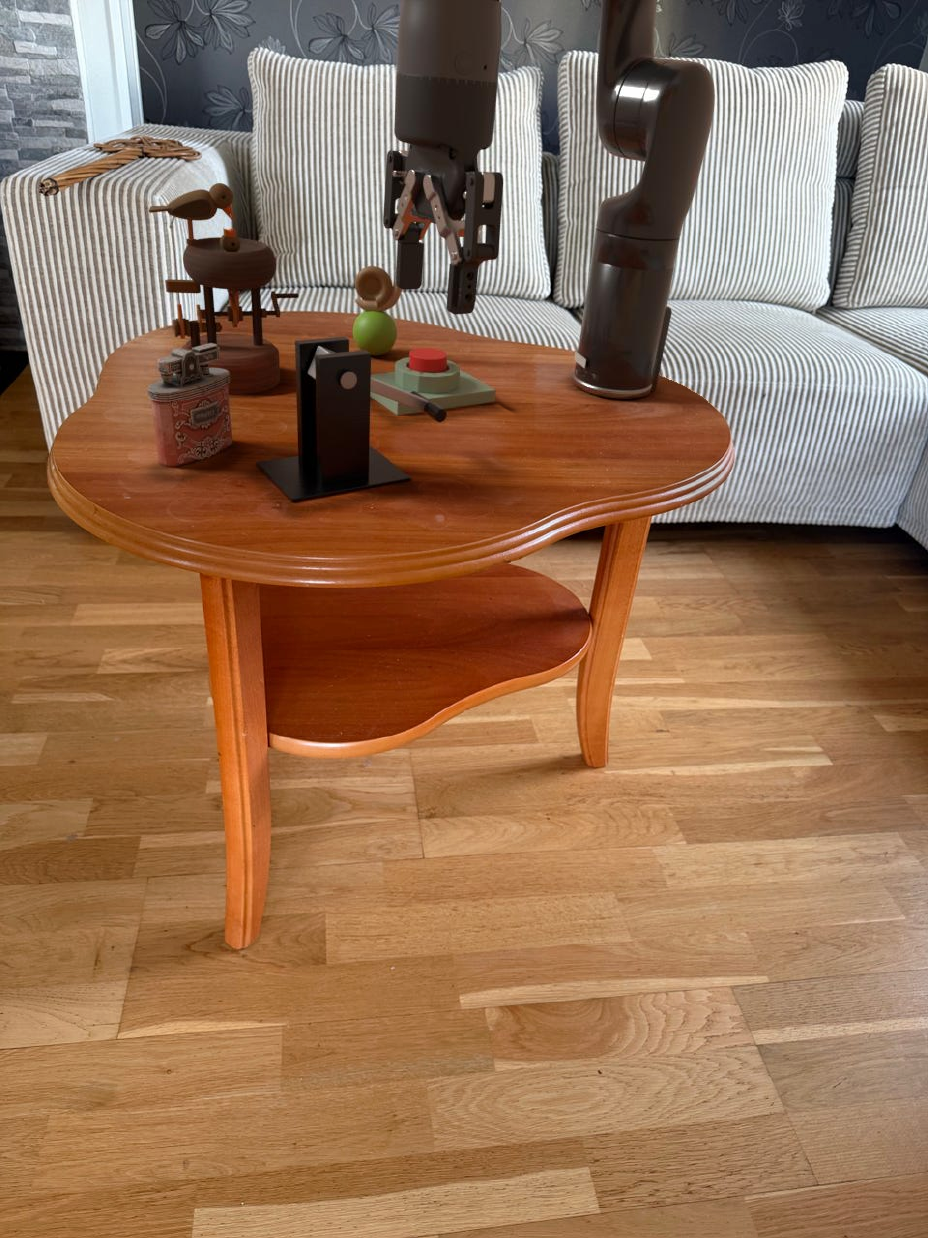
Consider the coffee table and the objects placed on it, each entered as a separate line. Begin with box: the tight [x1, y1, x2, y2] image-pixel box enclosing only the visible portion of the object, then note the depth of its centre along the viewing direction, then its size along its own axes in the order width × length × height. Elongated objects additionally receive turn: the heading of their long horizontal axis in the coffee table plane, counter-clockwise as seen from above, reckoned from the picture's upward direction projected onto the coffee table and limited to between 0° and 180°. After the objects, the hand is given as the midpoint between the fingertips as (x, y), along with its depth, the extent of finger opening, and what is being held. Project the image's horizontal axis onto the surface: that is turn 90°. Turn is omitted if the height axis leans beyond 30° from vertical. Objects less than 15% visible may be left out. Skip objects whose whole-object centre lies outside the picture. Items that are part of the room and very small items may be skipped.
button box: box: [370, 356, 497, 416], centre depth 94 cm, size 12×9×4 cm
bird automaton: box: [148, 182, 300, 395], centre depth 92 cm, size 15×11×20 cm
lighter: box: [146, 343, 234, 469], centre depth 75 cm, size 8×3×10 cm, turn 148°
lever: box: [308, 346, 447, 423], centre depth 74 cm, size 12×5×2 cm, turn 122°
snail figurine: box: [352, 265, 403, 357], centre depth 105 cm, size 5×6×12 cm
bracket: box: [255, 336, 412, 504], centre depth 73 cm, size 11×8×12 cm
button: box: [408, 347, 448, 373], centre depth 92 cm, size 4×4×2 cm
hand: (433, 300), depth 73 cm, fingers open, 8 cm apart
